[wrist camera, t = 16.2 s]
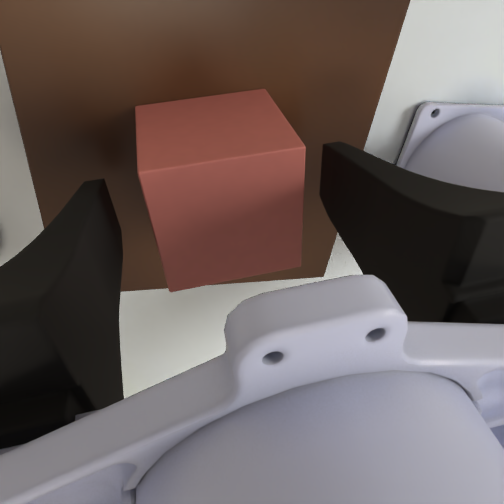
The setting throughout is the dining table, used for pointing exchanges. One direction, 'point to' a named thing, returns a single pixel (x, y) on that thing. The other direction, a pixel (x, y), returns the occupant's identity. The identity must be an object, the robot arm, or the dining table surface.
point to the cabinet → (187, 93)
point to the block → (221, 186)
